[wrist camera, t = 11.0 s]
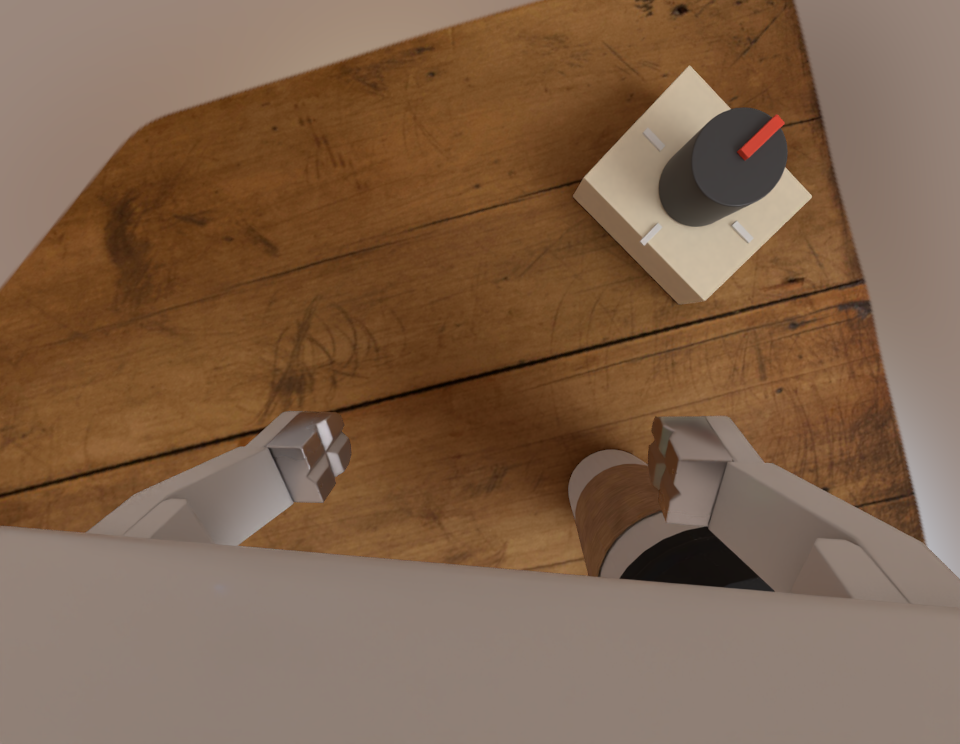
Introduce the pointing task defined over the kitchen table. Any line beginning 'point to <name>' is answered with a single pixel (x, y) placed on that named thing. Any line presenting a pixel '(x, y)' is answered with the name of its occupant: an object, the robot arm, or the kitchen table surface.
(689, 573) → the coffee cup
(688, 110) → the panel
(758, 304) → the kitchen table surface
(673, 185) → the knob
